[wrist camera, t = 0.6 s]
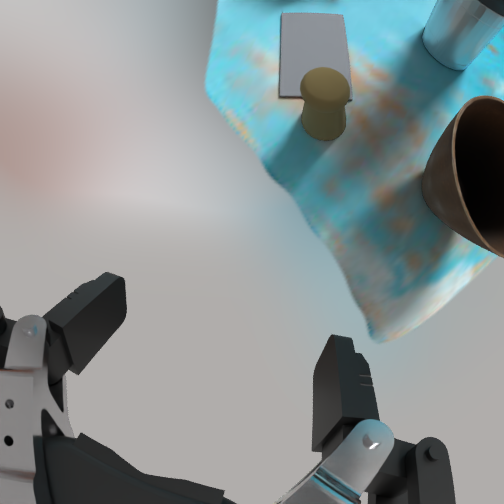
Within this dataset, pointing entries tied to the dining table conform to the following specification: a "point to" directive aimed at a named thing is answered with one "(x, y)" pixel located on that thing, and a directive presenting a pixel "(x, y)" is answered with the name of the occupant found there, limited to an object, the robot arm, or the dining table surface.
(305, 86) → the cork
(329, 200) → the dining table surface
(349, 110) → the dining table surface
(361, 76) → the dining table surface
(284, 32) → the mat
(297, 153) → the dining table surface
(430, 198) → the plant pot
